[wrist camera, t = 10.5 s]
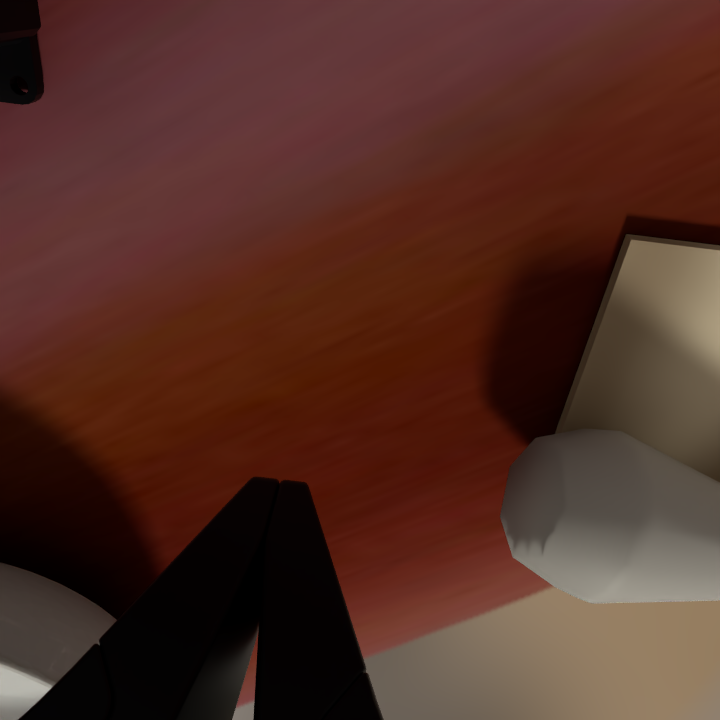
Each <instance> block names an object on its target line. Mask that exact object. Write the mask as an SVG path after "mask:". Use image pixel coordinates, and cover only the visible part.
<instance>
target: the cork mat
mask: <svg viewBox="0 0 720 720" xmlns="http://www.w3.org/2000/svg"><path fill="white" fill-rule="evenodd" d="M580 429H599V430H613V431H622V432H624V433H626V434H628V435H630V436H631V437H633V438H635V439H637V440H639V441H641V442H643V443H645V444H647V445H649V446H651V447H653V448H654V449H656V450H658V451H660V452H662V453H664V454H666V455H668V456H670V457H672V458H674V459H676V460H677V461H679V462H681V463H683V464H685V465H687V466H689V467H691V468H693V469H695V470H697V471H698V472H700V473H702V474H704V475H706V476H708V477H710V478H712V479H714V480H716V481H718V482H720V245H712V244H703V243H695V242H687V241H679V240H671V239H663V238H655V237H647V236H639V235H631V234H626V235H625V238H624V241H623V244H622V247H621V249H620V252H619V255H618V258H617V261H616V264H615V266H614V269H613V272H612V275H611V278H610V280H609V283H608V286H607V289H606V292H605V294H604V297H603V300H602V303H601V306H600V308H599V311H598V314H597V317H596V320H595V322H594V325H593V328H592V331H591V334H590V336H589V339H588V342H587V345H586V348H585V350H584V353H583V356H582V359H581V362H580V364H579V367H578V370H577V373H576V376H575V378H574V381H573V384H572V387H571V390H570V393H569V395H568V398H567V401H566V404H565V407H564V409H563V412H562V415H561V418H560V421H559V423H558V426H557V429H556V432H555V434H558V433H564V432H569V431H574V430H580Z"/></svg>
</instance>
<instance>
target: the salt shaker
mask: <svg viewBox="0 0 720 720" xmlns="http://www.w3.org/2000/svg"><path fill="white" fill-rule="evenodd" d="M500 518H501V521H502V524H503V527H504V531H505V534H506V537H507V540H508V543H509V546H510V549H511V553H512V556H513V557H514V558H515V559H516V560H518V561H519V562H521V563H522V564H523V565H525V566H526V567H528V568H529V569H530V570H532V571H533V572H535V573H536V574H538V575H539V576H540V577H542V578H543V579H545V580H546V581H547V582H549V583H550V584H552V585H553V586H554V587H556V588H558V589H560V590H562V591H564V592H566V593H568V594H570V595H572V596H574V597H576V598H579V599H581V600H584V601H587V602H590V603H628V602H629V603H630V602H672V601H713V600H720V482H718V481H716V480H714V479H712V478H710V477H708V476H706V475H704V474H702V473H700V472H698V471H697V470H695V469H693V468H691V467H689V466H687V465H685V464H683V463H681V462H679V461H677V460H676V459H674V458H672V457H670V456H668V455H666V454H664V453H662V452H660V451H658V450H656V449H654V448H653V447H651V446H649V445H647V444H645V443H643V442H641V441H639V440H637V439H635V438H633V437H631V436H630V435H628V434H626V433H624V432H622V431H613V430H599V429H580V430H574V431H569V432H564V433H558V434H553V435H547V436H542V437H537V438H535V439H534V440H533V441H532V442H531V443H530V445H529V446H528V447H527V448H526V449H525V450H524V451H523V452H522V454H521V455H520V456H519V457H518V458H517V459H516V460H515V462H514V463H513V464H512V465H511V466H510V468H509V473H508V479H507V484H506V489H505V494H504V499H503V504H502V509H501V514H500Z"/></svg>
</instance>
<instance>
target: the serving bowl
mask: <svg viewBox="0 0 720 720" xmlns="http://www.w3.org/2000/svg"><path fill="white" fill-rule="evenodd" d="M116 621H117V620H116V619H115V618H114V617H113V616H111V615H110V614H109V613H108V612H106V611H105V610H104V609H102V608H101V607H100V606H98V605H96V604H95V603H93V602H92V601H90V600H89V599H87V598H85V597H84V596H82V595H80V594H78V593H77V592H75V591H73V590H71V589H69V588H67V587H65V586H63V585H62V584H59V583H57V582H55V581H52V580H50V579H48V578H45V577H43V576H40V575H38V574H35V573H33V572H30V571H27V570H24V569H21V568H18V567H15V566H11V565H8V564H4V563H0V720H18V719H19V718H20V717H21V716H23V715H24V714H25V713H26V712H27V711H28V710H29V709H30V708H31V707H32V706H33V705H35V704H36V703H37V702H38V701H39V700H40V699H41V698H42V697H43V696H44V695H45V694H46V693H47V692H48V691H49V690H50V689H51V688H52V687H53V686H54V685H55V684H56V683H57V682H58V681H59V680H60V679H61V678H62V677H63V676H64V675H65V674H66V673H67V672H68V671H69V670H70V669H71V668H72V667H73V666H74V665H75V664H76V663H77V661H78V660H79V659H80V658H81V657H82V656H83V655H84V654H85V653H86V652H87V651H88V650H89V649H90V648H91V647H92V645H94V644H99V639H100V637H101V636H102V635H103V634H104V633H105V632H106V631H107V630H108V629H109V628H110V627H111V626H112V625H113V624H114V623H115V622H116Z"/></svg>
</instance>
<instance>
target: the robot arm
mask: <svg viewBox="0 0 720 720" xmlns="http://www.w3.org/2000/svg"><path fill="white" fill-rule="evenodd" d="M40 27H41V22H40V15H39V9H38V2H37V0H0V102H6V103H14V104H22V105H23V104H30V103H33V102H36V101H37V100H39V99H41V97H42V95H43V93H44V83H43V77H42V70H41V63H40V57H39V50H38V43H37V36H36V33H37V31H38V30H39V29H40ZM19 76H20V77H22V78H23V79H24V80H25V81H26V82H27V85H28V92H27V93H26V92H23V91H22V90H21V89H20V88H19V86H18V83H17V78H18V77H19ZM258 630H259V633H258ZM257 634H258V651H257V668H256V686H255V703H254V720H383V717H382V714H381V711H380V708H379V705H378V703H377V700H376V696H375V694H374V690H373V687H372V684H371V681H370V678H369V675H368V674H367V673H366V666H365V663H364V660H363V657H362V653H361V650H360V647H359V644H358V641H357V638H356V634H355V631H354V628H353V625H352V622H351V619H350V616H349V612H348V609H347V606H346V603H345V600H344V597H343V594H342V590H341V587H340V584H339V581H338V578H337V575H336V571H335V568H334V565H333V562H332V559H331V556H330V553H329V549H328V546H327V543H326V540H325V537H324V534H323V531H322V527H321V524H320V521H319V518H318V515H317V512H316V508H315V505H314V502H313V499H312V496H311V493H310V490H309V487H308V485H307V484H306V483H305V482H299V481H291V480H283V481H281V482H280V483H279V481H278V480H277V479H273V478H264V477H253V478H251V479H250V480H249V481H248V482H247V483H246V484H245V485H244V486H243V487H242V488H241V489H240V490H239V492H238V493H237V494H236V495H235V496H234V497H233V498H232V499H231V500H230V501H229V502H228V503H227V504H226V505H225V506H224V507H223V508H222V509H221V511H220V512H219V513H218V514H217V515H216V516H215V517H214V518H213V519H212V520H211V521H210V522H209V523H208V524H207V525H206V526H205V527H204V529H203V530H202V531H201V532H200V533H199V534H198V535H197V536H196V537H195V538H194V539H193V540H192V541H191V542H190V543H189V544H188V545H187V546H186V548H185V549H184V550H183V551H182V552H181V553H180V554H179V555H178V556H177V557H176V558H175V559H174V560H173V561H172V562H171V563H170V564H169V566H168V567H167V568H166V569H165V570H164V571H163V572H162V573H161V574H160V575H159V576H158V577H157V578H156V579H155V580H154V581H153V582H152V583H151V585H150V586H149V587H148V588H147V589H146V590H145V591H144V592H143V593H142V594H141V595H140V596H139V597H138V598H137V599H136V600H135V601H134V603H133V604H132V605H131V606H130V607H129V608H128V609H127V610H126V611H125V612H124V613H123V614H122V615H121V616H120V617H119V618H118V619H117V621H116V622H115V623H114V624H113V625H112V626H111V627H110V628H109V629H108V630H107V631H106V632H105V633H104V634H103V635H102V636H101V637H100V639H99V644H94V645H92V647H91V648H90V649H89V650H88V651H87V652H86V653H85V654H84V655H83V656H82V657H81V658H80V659H79V660H78V661H77V663H76V664H75V665H74V666H73V667H72V668H71V669H70V670H69V671H68V672H67V673H66V674H65V675H64V676H63V677H62V678H61V679H60V680H59V681H58V682H57V683H56V684H55V685H54V686H53V687H52V688H51V689H50V690H49V691H48V692H47V693H46V694H45V695H44V696H43V697H42V698H41V699H40V700H39V701H38V702H37V703H36V704H35V705H33V706H32V707H31V708H30V709H29V710H28V711H27V712H26V713H25V714H24V715H23V716H21V717H20V718H19V719H18V720H232V718H233V715H234V711H235V708H236V705H237V701H238V698H239V695H240V691H241V688H242V685H243V681H244V678H245V675H246V671H247V668H248V665H249V661H250V658H251V655H252V651H253V648H254V644H255V641H256V637H257Z"/></svg>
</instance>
